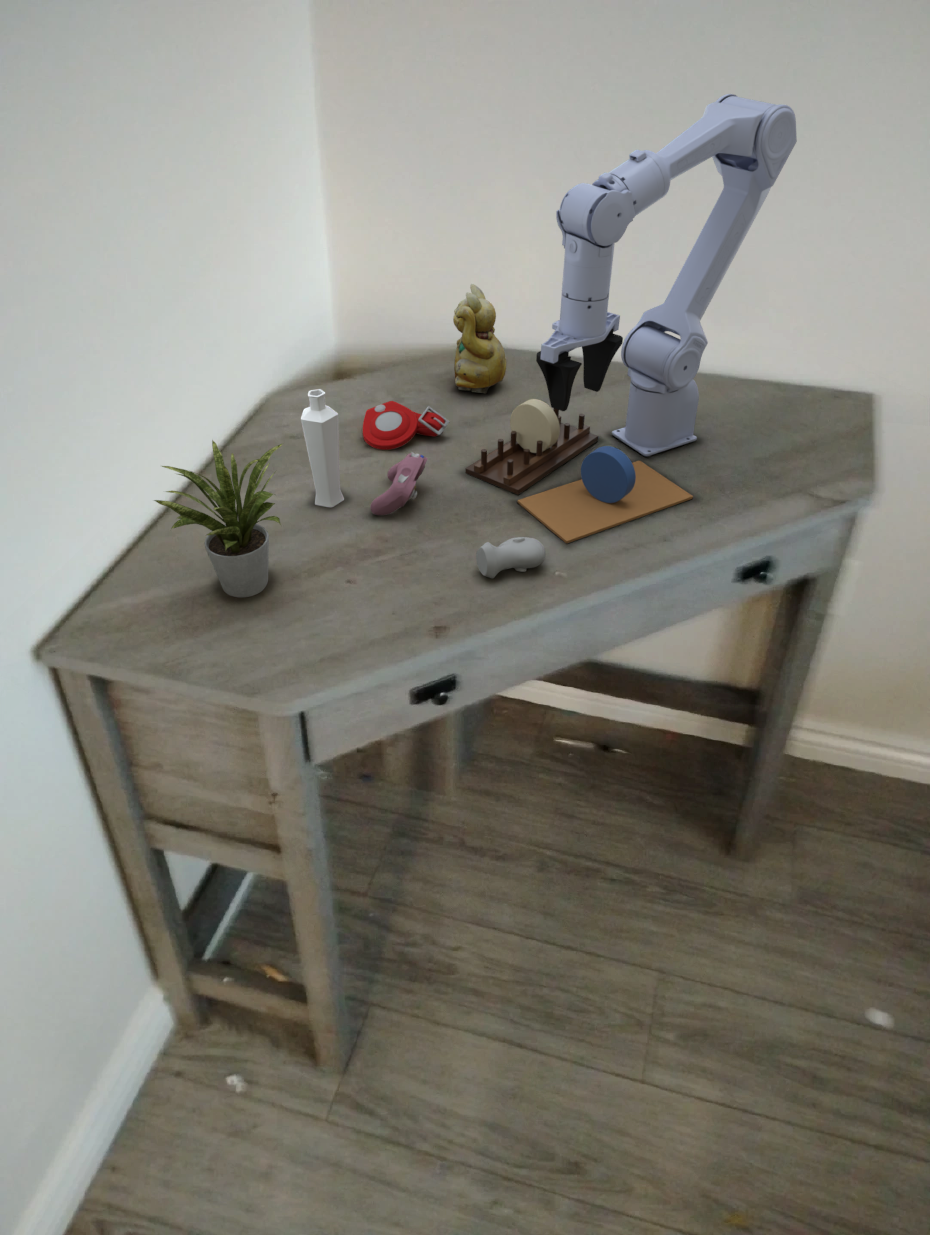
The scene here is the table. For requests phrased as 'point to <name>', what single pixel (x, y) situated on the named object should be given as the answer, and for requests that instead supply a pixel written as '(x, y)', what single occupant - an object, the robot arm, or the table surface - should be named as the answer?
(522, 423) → the cream disc
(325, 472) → the white faceted vase
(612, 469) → the blue disc
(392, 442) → the tracker holder
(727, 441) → the table surface
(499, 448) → the rack
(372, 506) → the video game controller
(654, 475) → the mat
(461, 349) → the decorative figurine
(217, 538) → the house plant
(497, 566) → the smooth white sculpture
